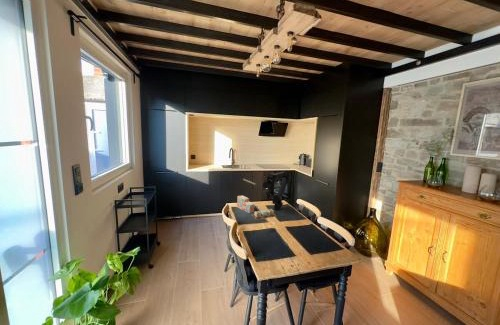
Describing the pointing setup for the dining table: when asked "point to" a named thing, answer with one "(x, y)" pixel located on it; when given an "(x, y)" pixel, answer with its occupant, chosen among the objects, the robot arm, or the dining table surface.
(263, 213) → the sage block
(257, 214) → the maple block
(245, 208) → the stack of blocks
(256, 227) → the dining table surface
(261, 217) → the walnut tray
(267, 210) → the maple block
